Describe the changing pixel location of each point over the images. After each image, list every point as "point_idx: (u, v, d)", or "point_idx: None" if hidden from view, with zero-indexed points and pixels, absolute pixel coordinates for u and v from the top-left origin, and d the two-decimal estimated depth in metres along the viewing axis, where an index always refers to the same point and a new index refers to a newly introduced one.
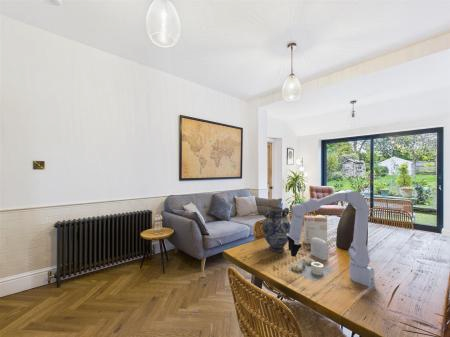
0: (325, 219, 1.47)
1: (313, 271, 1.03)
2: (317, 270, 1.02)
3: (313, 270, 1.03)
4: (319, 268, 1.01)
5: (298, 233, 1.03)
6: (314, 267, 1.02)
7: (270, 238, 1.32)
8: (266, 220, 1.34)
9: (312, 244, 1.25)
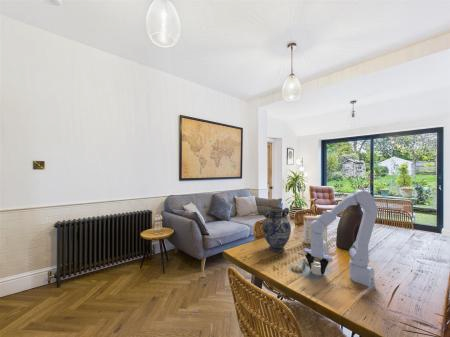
0: None
1: (313, 271, 1.03)
2: (317, 270, 1.02)
3: (313, 270, 1.03)
4: (319, 268, 1.01)
5: None
6: (314, 267, 1.02)
7: (270, 238, 1.32)
8: (266, 220, 1.34)
9: None
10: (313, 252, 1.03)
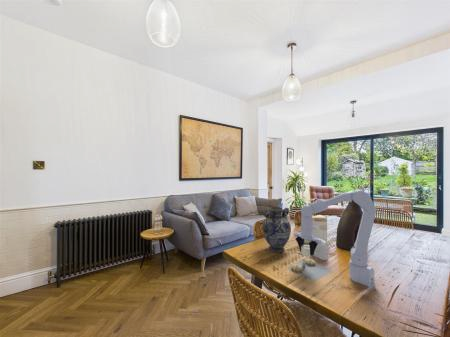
0: (325, 219, 1.47)
1: (303, 253, 1.08)
2: (306, 252, 1.06)
3: (303, 252, 1.08)
4: (308, 250, 1.06)
5: (312, 232, 1.07)
6: (304, 249, 1.07)
7: (270, 238, 1.32)
8: (266, 220, 1.34)
9: None
10: (303, 235, 1.08)
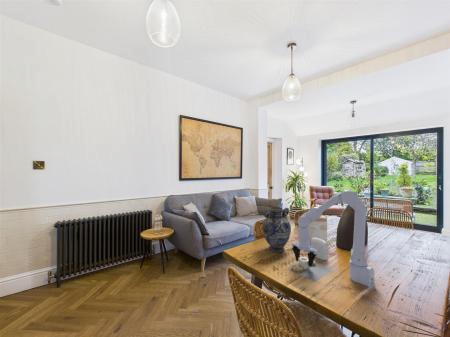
0: (325, 219, 1.47)
1: None
2: (303, 264, 1.08)
3: (300, 264, 1.09)
4: (305, 262, 1.08)
5: (309, 242, 1.09)
6: (301, 261, 1.09)
7: (270, 238, 1.32)
8: (266, 220, 1.34)
9: (312, 244, 1.25)
10: (300, 245, 1.09)
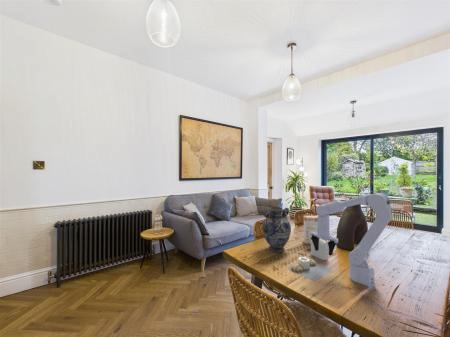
0: None
1: None
2: (303, 264, 1.08)
3: (300, 264, 1.09)
4: (305, 262, 1.08)
5: None
6: (301, 261, 1.09)
7: (270, 238, 1.32)
8: (266, 220, 1.34)
9: (312, 244, 1.25)
10: (320, 234, 1.08)
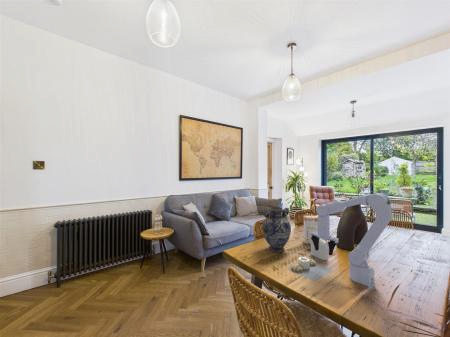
0: None
1: None
2: (303, 264, 1.08)
3: (300, 264, 1.09)
4: (305, 262, 1.08)
5: (329, 231, 1.08)
6: (301, 261, 1.09)
7: (270, 238, 1.32)
8: (266, 220, 1.34)
9: (312, 244, 1.25)
10: (320, 234, 1.08)
